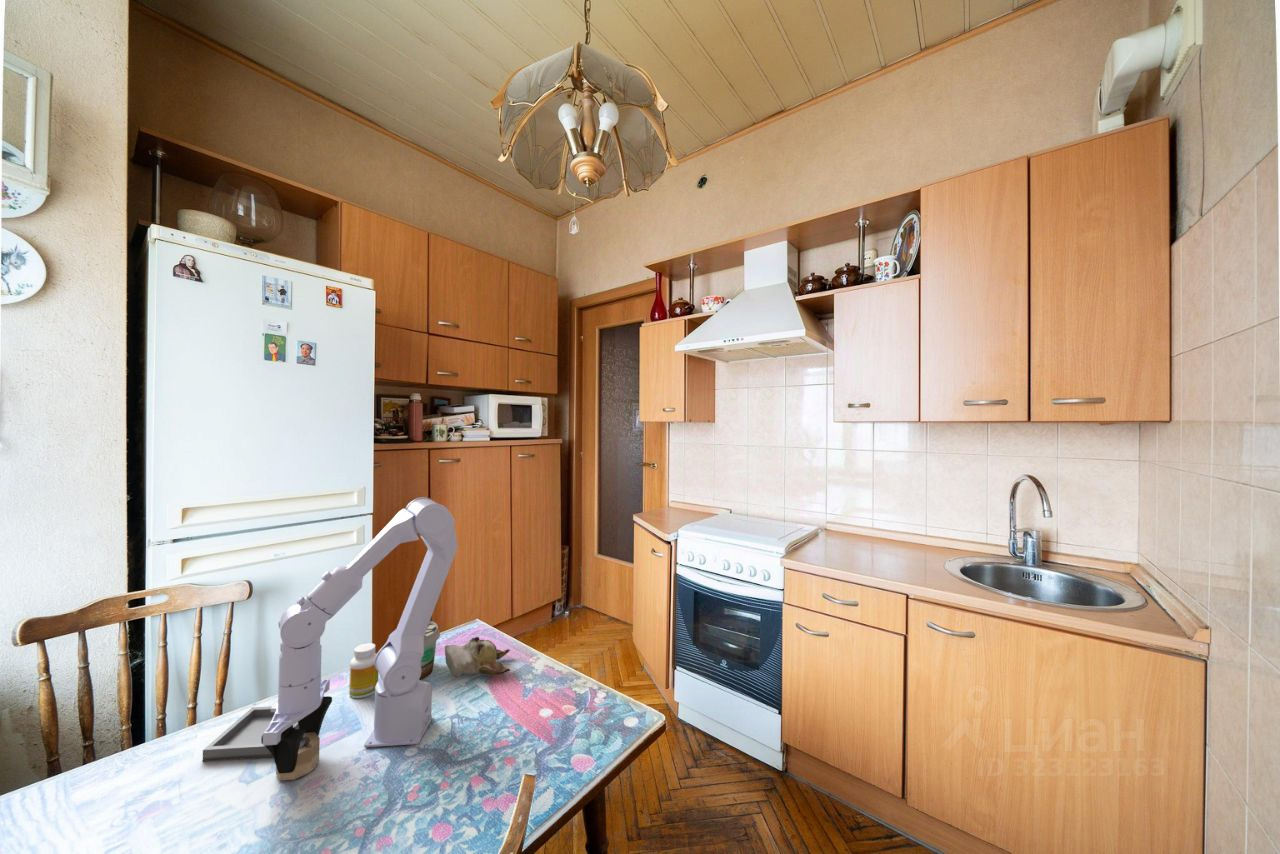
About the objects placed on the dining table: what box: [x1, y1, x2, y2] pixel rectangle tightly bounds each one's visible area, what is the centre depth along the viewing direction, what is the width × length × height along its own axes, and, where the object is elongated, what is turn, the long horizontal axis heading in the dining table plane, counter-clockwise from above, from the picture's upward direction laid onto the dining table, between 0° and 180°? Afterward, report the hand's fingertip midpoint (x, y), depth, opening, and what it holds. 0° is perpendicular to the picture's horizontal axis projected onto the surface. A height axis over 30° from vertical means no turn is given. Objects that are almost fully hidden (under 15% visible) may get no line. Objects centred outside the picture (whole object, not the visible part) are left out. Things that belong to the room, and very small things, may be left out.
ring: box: [275, 732, 321, 781], centre depth 75 cm, size 5×5×4 cm
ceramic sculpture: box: [444, 636, 511, 679], centre depth 106 cm, size 11×9×15 cm
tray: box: [202, 706, 299, 762], centre depth 83 cm, size 12×12×2 cm
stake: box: [299, 734, 307, 749], centre depth 75 cm, size 2×2×6 cm
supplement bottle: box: [348, 642, 379, 699], centre depth 97 cm, size 5×5×10 cm
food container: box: [419, 620, 441, 681], centre depth 105 cm, size 12×6×10 cm, turn 168°
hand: (298, 757), depth 75 cm, fingers closed on ring, 5 cm apart
